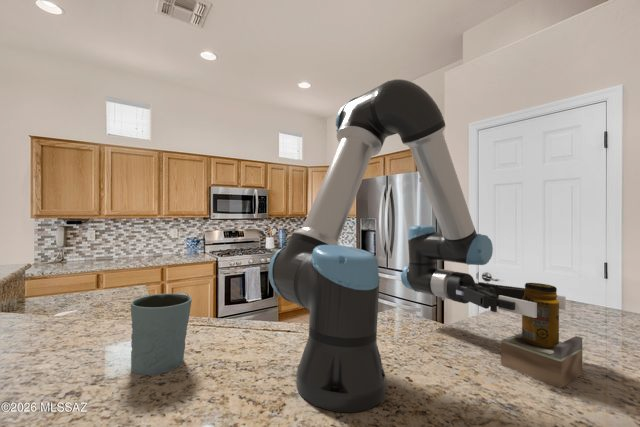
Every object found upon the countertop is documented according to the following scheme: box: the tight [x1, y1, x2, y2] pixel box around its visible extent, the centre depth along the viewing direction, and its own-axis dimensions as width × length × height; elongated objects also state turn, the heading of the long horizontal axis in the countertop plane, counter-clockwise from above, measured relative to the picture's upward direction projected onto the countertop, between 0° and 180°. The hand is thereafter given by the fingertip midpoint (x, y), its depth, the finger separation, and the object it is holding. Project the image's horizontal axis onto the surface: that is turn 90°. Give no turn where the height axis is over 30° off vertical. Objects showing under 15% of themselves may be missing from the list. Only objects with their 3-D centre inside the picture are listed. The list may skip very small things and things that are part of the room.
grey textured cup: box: [130, 293, 193, 376], centre depth 54 cm, size 10×10×12 cm
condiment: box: [509, 282, 560, 355], centre depth 59 cm, size 7×8×12 cm
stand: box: [500, 332, 583, 389], centre depth 59 cm, size 11×10×7 cm
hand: (551, 306), depth 58 cm, fingers open, 13 cm apart
